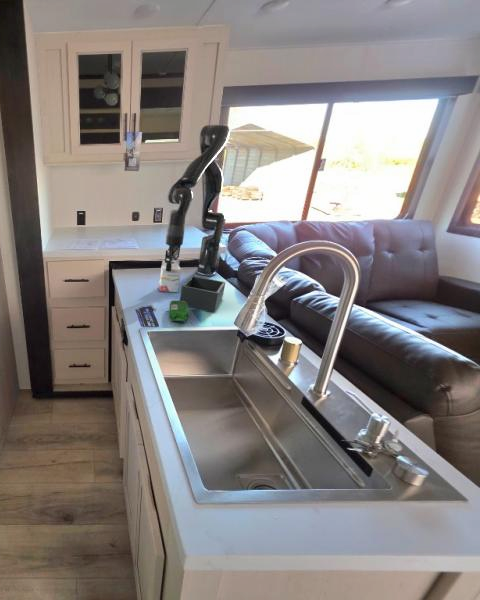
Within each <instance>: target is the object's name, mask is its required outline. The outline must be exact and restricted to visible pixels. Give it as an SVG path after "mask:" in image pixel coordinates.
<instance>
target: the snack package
mask: <svg viewBox="0 0 480 600" xmlns="http://www.w3.org/2000/svg"><path fill="white" fill-rule="evenodd" d="M168 313H169V314H168V317H169V320H170V321H172V322H188V321H189V307H188V305H187V302H185V301H180V300H171V301H170V303H169V311H168Z"/></svg>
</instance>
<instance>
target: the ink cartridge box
mask: <svg viewBox="0 0 480 600" xmlns="http://www.w3.org/2000/svg"><path fill="white" fill-rule="evenodd" d="M168 261H169V260H168ZM180 261H181V260H179V259H177V260H173V261H172V262H174V263H173V264H172V266H171V271H170V272H168V271H166V265H167V263H165V259H162V262H161V266H160V274H159V283H158V290H159V291H160V292H162V293H163V292H164V293H165V292H166V293H178V292H179V287H180V281H181V280H180V279H181V272H182V268H181V267H180Z"/></svg>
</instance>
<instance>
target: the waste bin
mask: <svg viewBox="0 0 480 600" xmlns="http://www.w3.org/2000/svg"><path fill="white" fill-rule="evenodd" d="M225 286H226V281H224V280H216V279H211V278H207V277H206V278H205V277H201V276H195V275H191V276H190V277H189V278H188V279H187V280H186V281H185V282H184V283H183V284H182V285H181V288H180V289H181V290H180V297H179V301H185V302H187V305H188V308H192V309H197V310H201V311H204V312H208V313H212V314H213V313H215V312H216V311H217V309H218V308H219V306H220V304H221V302H222V301H223V297H224V291H225Z"/></svg>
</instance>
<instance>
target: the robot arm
mask: <svg viewBox="0 0 480 600" xmlns="http://www.w3.org/2000/svg"><path fill="white" fill-rule="evenodd" d="M229 137H230V127H229V126H228V124H223V123H222V124H221V123H219V124H218V123H217V124H205V125H203V127H202V128H201V130H200V132H199V151H200V155H199V156H197V157H196V158H194V159H193V160H192V161H191V162H190V163H189V165H188V166H187V168H186V169H185V171H184V173H183V174H182V176H181V177H180V178H179V179H178V180H177V181H176V182H175V183H174V184H173V185H172V186H171V187H170V188H169V190H168V192H167V196H166V197H167V201H168V203H170V204H172V205H179V206H178V208H177V209H171V210H170V211H169V215H168V224H167V228H166V236H165V245H167V246H168V248H167V249H166V250H165V254H164V255H165V256H164V257H165V259H164V260H165V263H167V265H166V271H168V272H170V271H171V266H172V264H173V263H174V262H172V261H173V260H179V257H180V253H181V247H182V246H183V244H184V237H185V231H186V230H185V229H186V228H185V227H186V226H185V225H186V218H187V214H188V212H189V208H190V205H191V204H192V201H193V198H194V193H193V190H192V189H193V188H194V187H196V186H197V183H198V182H199V181H200V179H201V190H202V192H201V193H202V209H201V227H202V229H203V230H207V231H213V233H212V234H210V235H204V236H203V237H202V239H201V243H200V250H199V257H198V264H197V269H196V273H197V274H198V275H200V276H203V277H204V276H205V277H211V276H212V277H213V276H215V273H216V268H218V267H217V263H218V258H219V251H220V245H221V241H222V237H223V232H224V228H225V225H226V219H227V217H226V214H225V213H223V212H216V211H212V206H213V204H214V202H215V201H216V199H217V198H218V197H219V195H220V194H221V192H222V190H223V188H224V186H223V185H224V174H223V171H222V169H221V167H220V165H219V164H218V163H217V161H216V159H215V158H216V157H217V156H218V154H219V153H220V152H221V151H222V150H223V149H224V147H225V146H226V144H227V142H228V140H229ZM168 260H169V261H168Z"/></svg>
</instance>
